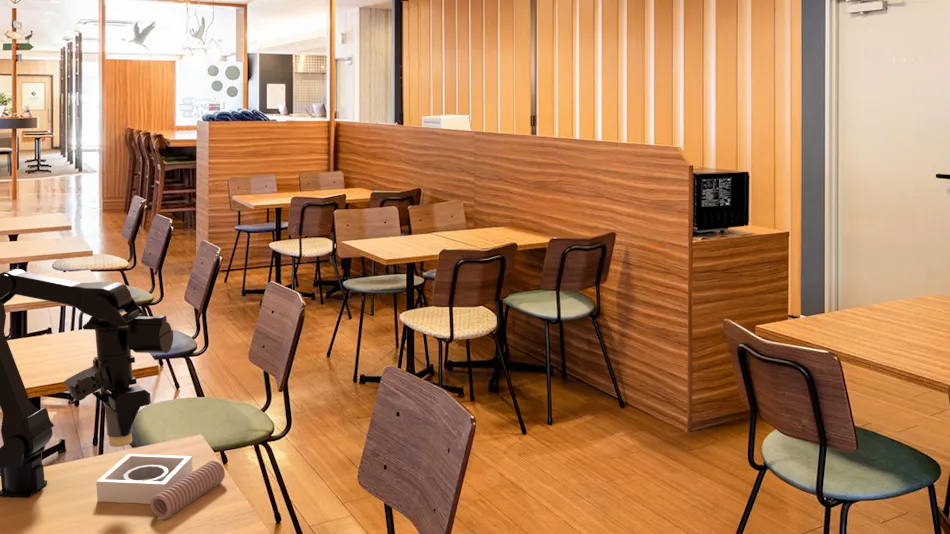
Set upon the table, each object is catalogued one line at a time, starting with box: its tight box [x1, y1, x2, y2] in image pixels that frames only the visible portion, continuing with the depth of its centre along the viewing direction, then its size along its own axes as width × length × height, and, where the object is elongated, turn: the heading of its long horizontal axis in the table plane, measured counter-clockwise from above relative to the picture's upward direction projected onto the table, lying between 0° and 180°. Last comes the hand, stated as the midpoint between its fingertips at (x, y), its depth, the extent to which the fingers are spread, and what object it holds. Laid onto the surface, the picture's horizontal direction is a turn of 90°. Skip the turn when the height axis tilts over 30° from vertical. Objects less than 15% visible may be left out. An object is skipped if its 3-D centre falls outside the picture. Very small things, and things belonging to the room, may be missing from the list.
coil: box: [150, 460, 226, 521], centre depth 159 cm, size 5×5×18 cm
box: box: [95, 453, 194, 505], centre depth 164 cm, size 13×13×4 cm
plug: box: [104, 401, 134, 448], centre depth 159 cm, size 4×4×8 cm
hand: (120, 432), depth 159 cm, fingers closed on plug, 4 cm apart
